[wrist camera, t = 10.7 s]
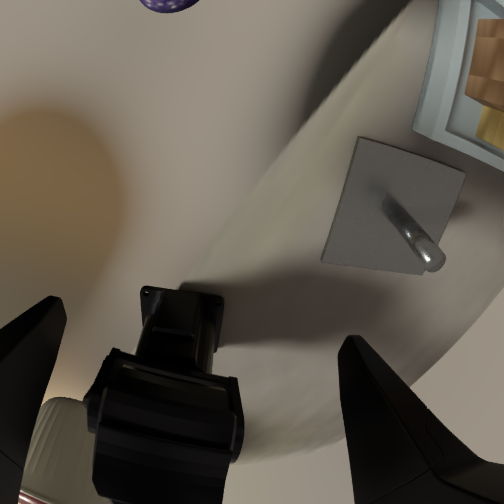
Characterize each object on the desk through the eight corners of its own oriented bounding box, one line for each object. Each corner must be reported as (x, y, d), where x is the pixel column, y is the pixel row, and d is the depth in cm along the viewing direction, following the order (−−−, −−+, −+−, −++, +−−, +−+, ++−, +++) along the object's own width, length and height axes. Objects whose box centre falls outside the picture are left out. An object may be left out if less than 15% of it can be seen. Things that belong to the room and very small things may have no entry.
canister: (11, 375, 33) (-32, 495, 15) (105, 382, 31) (67, 550, 13) (75, 435, 42) (53, 534, 25) (164, 444, 41) (152, 564, 23)
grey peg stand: (420, 272, 23) (452, 322, 18) (320, 259, 22) (339, 317, 17) (463, 171, 18) (513, 208, 13) (357, 136, 17) (399, 166, 13)
